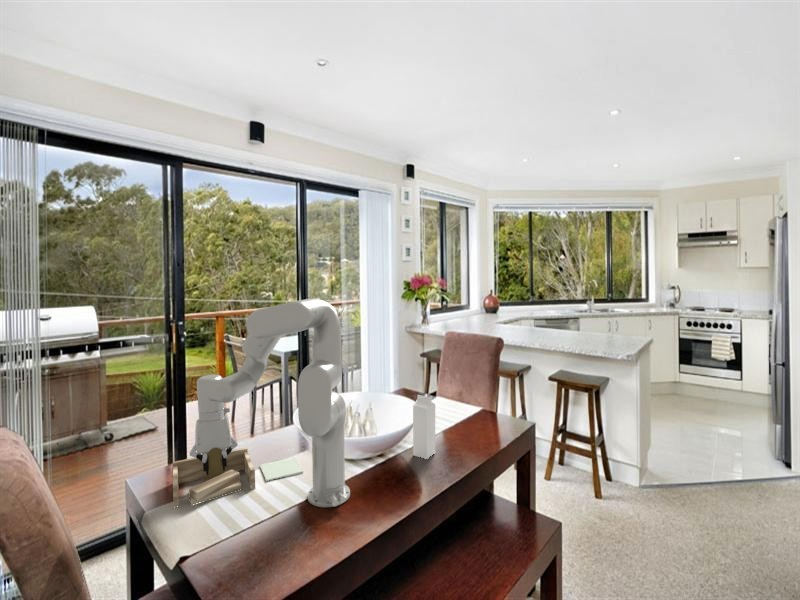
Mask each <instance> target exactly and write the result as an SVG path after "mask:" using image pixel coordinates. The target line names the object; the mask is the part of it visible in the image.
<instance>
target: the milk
mask: <svg viewBox="0 0 800 600" xmlns="http://www.w3.org/2000/svg"><path fill="white" fill-rule="evenodd" d="M412 417H413V418H412V422H413V423H412V427H413V428H412V432H413V434H412V436H413V437H412V445H413V446H412V448H413V449H412V452H413V453H412V456H413V457H414V456H415V457H416V458H417V457H418V458H420V457H421V458H420V459H423V458H424V460H426V459H427V460H428V459H430V458H431V457H433V456H434V455H435V454H436V403H435V402H432V397H430V396H426V395H419V394H417V399H416V401H415V402H414V403H413V405H412ZM433 454H434V455H433ZM432 455H433V456H432ZM430 456H431V457H430ZM429 457H430V458H429Z"/></svg>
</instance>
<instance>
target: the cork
mask: <svg viewBox="0 0 800 600" xmlns="http://www.w3.org/2000/svg"><path fill="white" fill-rule="evenodd" d="M207 462H208V466H209V470H208V475H206V478H205V481H208V480H210V479H212V478H214V477H216V476H219V475H221V474H223V473H225V471H223V466H222V449H219V448H213V449H211V450H210V451H209V452H208V453H207Z"/></svg>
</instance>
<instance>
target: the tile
mask: <svg viewBox="0 0 800 600" xmlns="http://www.w3.org/2000/svg"><path fill="white" fill-rule="evenodd" d="M259 468H260V470H261V472H263V473H262V475H263V477H265V478H264V479H266V480H265V482H266V481H268V482H270V481H269V480H272V481H274V480H273V479H276V480H279V479H278V478H280V479H283V478H282V477H285V478H287V477H286V476H289V477H292V476H291V475H293V476H296V475H295V474H297V475H300V474H299V473H301V474H304V470H303V468H302V467H301V466H300V464H299V463H298V461H297V459H296V458H295V456H293V457H289V458H286V459H280V460H276V461H270V462H267V463H262V464H259Z"/></svg>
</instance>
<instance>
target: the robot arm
mask: <svg viewBox="0 0 800 600" xmlns="http://www.w3.org/2000/svg"><path fill="white" fill-rule="evenodd" d="M341 324H342V323H341V320H340V316H339V314H338V312H337V310H336V309H335V308H334V307H333V306H332V305H331V304H330V303H329V302H327V301H325V300H322V299H320V298H313V297H312V298H305V299H300V300H293V301H290V302H285V303H281V304H277V305H274V306H269V307H262V308H258V309H255V310H254V311H253V312H251V313H250V314H249V315H248V318H247V320H246V329H247V332H248V335H247V336H246V338H245V340H244V341H243V343H242V345H241V349H242V352H243V353H244V354H245V355H246V358H245V360H244V362H243V364H242V365H241V367H240V368H239V369H238V370H237V372H235V373H233V374H232V373H231V374H230V375H228V376H225V377H223V376H221V375H220V374H207V375H203V376H200V377H198V378H197V380H196V394H197V407H198V409H197V410H198V419H197V420H196V422H195V428H194V429H195V430H194V431H195V434H194V435H195V436H194V439H195V442H194V445H193V446H192V448H191V450H190V451H189V456H190V457H192V458H197V459H199V460H200V461H202V462H203V469H204V472H205V471H206V475H208V470H209V466H208V462H207V453H208V452H209V451H210V450H211V449H213V448H219V449H222V466H223V471H225V467H226V466H227V460H226V458H227V456H228V455H229V453H230V452H231V451H232V450H235V448H236V447H237V446H239V445H238V444H239V443H238V442H237V441H236V440H235V438H234V437H232V434H231V426H230V422H229V421H230V420H229V418H228V417H229V416H228V415H227V414H228V413H230V412H231V410H230V409H231V408H230V407H228V408H227V407H226V406H225V404H228V403H233V402H234V401H237V400H238V399H240V398H241V397H243V396H245V395H246V394H249V393H250V392H252V390H253V389H255V387H256V386H257V384H258V383H259V381H260V380H261V378H262V376H263V375H264V373H265V371H266V369H267V365H268V359H269V357H270V355H271V353H272V352H273V350H274V349H275V347H276V346H277V344H278V343H279V341H280V340H281V337H282V336H285V335H290V334H295V333H299V332H302V331H306V330H310V329H311V328H312V329H313V336H312V341H311V363H309V364H307V366H305V367H304V368H303V369H302V370H301V372H300V374H299V378H298V380H297V381H298V382H297V400H298V401H297V402H298V403H297V405H298V406H297V407H298V408H297V409H298V410H297V411H298V412H297V413H298V422H299V423H298V424H299V426H300V428H301V430H302V432H303V433H304V434H306V436H308V437H310V438H311V458H312V459H311V460H312V461H311V463H312V465H311V466H312V467H311V468H312V488H310V490H308V492H307V499H308V500H307V501H308V502H309V504H311V505H313V506H315V507H319V508H333V507H338V506H340V505H342V504H343V503H345V502H347V501H348V499H349V498H350V496H351V489H350V487H349V486H348V485H347V484H346V482H345V481H346V476H345V475H346V474H345V472H346V470H345V467H346V466H345V425H346V415H347V407H346V401H345V400H344V397H343V396H342V395H341V394H340V393H338V392H336V391H334V390H333V389H335V388H336V387H337V386H338V385H339V384H340V382H342V377H343V363H342V362H343V361H342V360H343V359H342V358H343V357H342V351H343V350H342V325H341ZM332 390H333V391H332Z"/></svg>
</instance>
